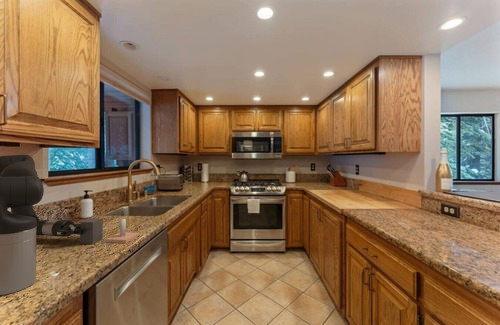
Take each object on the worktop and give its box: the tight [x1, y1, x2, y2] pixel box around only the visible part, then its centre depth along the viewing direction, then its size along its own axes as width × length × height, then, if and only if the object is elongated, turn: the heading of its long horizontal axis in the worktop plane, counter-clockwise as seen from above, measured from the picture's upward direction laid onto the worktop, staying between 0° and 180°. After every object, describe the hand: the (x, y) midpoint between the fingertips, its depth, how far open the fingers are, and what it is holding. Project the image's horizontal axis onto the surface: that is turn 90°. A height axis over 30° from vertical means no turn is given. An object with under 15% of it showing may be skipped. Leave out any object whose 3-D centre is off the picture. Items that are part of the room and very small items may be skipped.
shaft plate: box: [104, 218, 139, 244], centre depth 104 cm, size 10×10×10 cm
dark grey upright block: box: [79, 218, 104, 245], centre depth 100 cm, size 6×6×10 cm
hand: (91, 228), depth 100 cm, fingers open, 8 cm apart
